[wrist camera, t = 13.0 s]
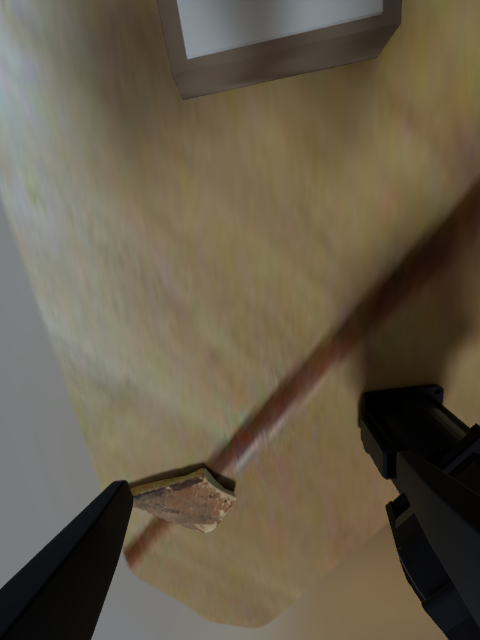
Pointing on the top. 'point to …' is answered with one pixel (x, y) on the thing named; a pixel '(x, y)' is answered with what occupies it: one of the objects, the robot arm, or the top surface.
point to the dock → (269, 38)
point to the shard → (186, 500)
